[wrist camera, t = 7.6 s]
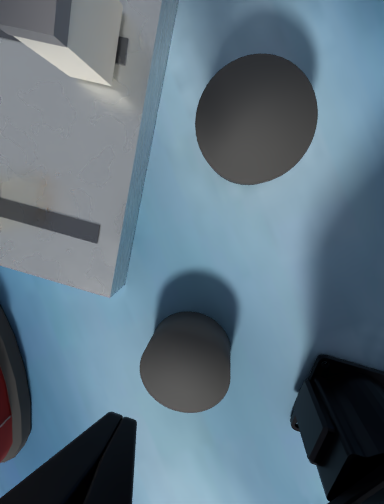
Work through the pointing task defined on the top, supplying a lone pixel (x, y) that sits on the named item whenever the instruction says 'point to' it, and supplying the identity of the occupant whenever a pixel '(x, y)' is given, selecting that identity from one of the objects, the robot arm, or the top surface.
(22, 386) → the bumper car
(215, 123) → the coil
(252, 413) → the top surface
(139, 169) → the panel
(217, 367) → the coil
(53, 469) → the robot arm
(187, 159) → the top surface
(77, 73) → the switch
